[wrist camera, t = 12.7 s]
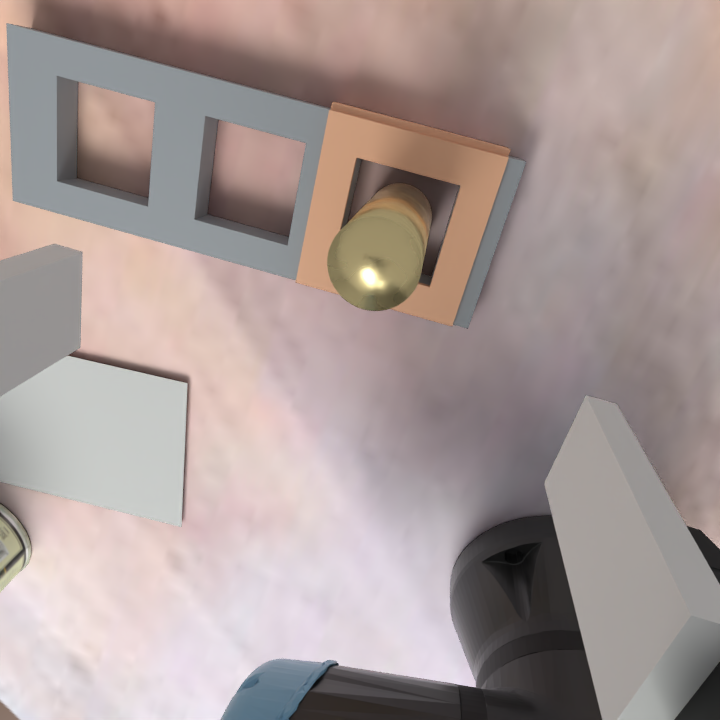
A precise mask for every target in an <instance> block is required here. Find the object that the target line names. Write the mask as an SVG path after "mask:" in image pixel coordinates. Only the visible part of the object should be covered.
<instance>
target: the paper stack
mask: <svg viewBox="0 0 720 720" xmlns="http://www.w3.org/2000/svg"><path fill="white" fill-rule="evenodd" d="M187 385H188V383H185V382H180V381H176V380H172V379H167V378H163V377H158V376H154V375H150V374H145V373H141V372H137V371H132V370H128V369H124V368H119V367H115V366H111V365H106V364H102V363H98V362H93V361H89V360H85V359H80V358H76V357H71V356H66V357H64V358H63V359H61V360H59V361H58V362H56V363H54V364H53V365H51V366H50V367H48V368H46V369H45V370H43V371H41V372H40V373H38V374H36V375H35V376H33V377H32V378H30V379H28V380H27V381H25V382H23V383H22V384H20V385H18V386H17V387H15V388H14V389H12V390H10V391H9V392H7V393H5V394H4V395H2V396H1V397H0V482H3V483H7V484H11V485H15V486H19V487H23V488H27V489H31V490H35V491H39V492H43V493H47V494H51V495H55V496H59V497H63V498H67V499H71V500H75V501H79V502H83V503H87V504H91V505H95V506H99V507H103V508H107V509H111V510H115V511H119V512H123V513H127V514H131V515H135V516H139V517H143V518H147V519H151V520H155V521H159V522H163V523H167V524H171V525H175V526H179V527H182V503H183V480H184V456H185V432H186V409H187Z"/></svg>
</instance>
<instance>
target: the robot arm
mask: <svg viewBox="0 0 720 720" xmlns="http://www.w3.org/2000/svg"><path fill="white" fill-rule="evenodd" d="M81 296H82V252H81V251H78V250H74V249H71V248H67V247H64V246H60V245H57V244H52V245H49V246H46V247H42V248H39V249H36V250H33V251H30V252H27V253H23V254H20V255H17V256H14V257H11V258H7V259H4V260H1V261H0V397H1V396H2V395H4V394H5V393H7V392H9V391H10V390H12V389H14V388H15V387H17V386H18V385H20V384H22V383H23V382H25V381H27V380H28V379H30V378H32V377H33V376H35V375H36V374H38V373H40V372H41V371H43V370H45V369H46V368H48V367H50V366H51V365H53V364H54V363H56V362H58V361H59V360H61V359H63V358H64V357H66V356H67V355H69V354H71V353H72V352H74V351H76V350H77V349H79V348H80V341H81ZM544 485H545V489H546V493H547V497H548V501H549V505H550V509H551V513H552V516H537V517H528V518H522V519H517V520H513V521H510V522H507V523H504V524H501V525H499V526H496V527H494V528H492V529H490V530H488V531H486V532H485V533H483V534H482V535H480V536H479V537H477V538H476V539H475V540H474V541H472V542H471V543H470V544H469V545H468V546H467V547H466V548H465V550H464V551H463V552H462V553H461V555H460V556H459V558H458V560H457V562H456V564H455V566H454V568H453V571H452V575H451V582H450V609H451V616H452V621H453V624H454V627H455V630H456V632H457V634H458V637H459V640H460V643H461V645H462V648H463V651H464V653H465V656H466V658H467V661H468V663H469V666H470V669H471V671H472V674H473V676H474V679H475V681H476V688H475V687H468V686H462V685H457V684H452V683H446V682H440V681H433V680H427V679H421V678H414V677H408V676H402V675H395V674H389V673H382V672H376V671H370V670H363V669H357V668H351V667H344V666H339V664H338V663H337V662H336V661H333V660H327V661H325V662H323V663H321V662H310V661H300V660H290V659H276V660H271V661H268V662H266V663H264V664H262V665H261V666H259V667H258V668H257V669H256V670H254V671H253V672H252V673H251V674H250V675H249V676H248V677H247V678H246V680H245V681H244V682H243V684H242V685H241V686H240V688H239V689H238V691H237V693H236V694H235V695H234V697H233V698H232V700H231V701H230V703H229V705H228V707H227V709H226V710H225V712H224V714H223V716H222V718H221V720H720V549H719V548H718V547H717V546H716V545H715V544H714V543H713V542H712V541H711V540H710V539H709V538H708V537H707V536H706V535H705V534H704V533H703V532H702V531H701V530H699V529H695V528H692V527H688V526H686V524H685V523H684V521H683V519H682V517H681V516H680V514H679V512H678V510H677V509H676V507H675V505H674V503H673V502H672V500H671V498H670V496H669V495H668V493H667V491H666V489H665V488H664V486H663V484H662V482H661V481H660V479H659V477H658V475H657V474H656V472H655V470H654V468H653V467H652V465H651V463H650V461H649V460H648V458H647V456H646V454H645V453H644V451H643V449H642V447H641V445H640V444H639V442H638V440H637V438H636V437H635V435H634V433H633V431H632V430H631V428H630V426H629V424H628V423H627V421H626V419H625V417H624V416H623V414H622V412H621V410H620V409H619V407H618V405H617V404H616V403H612V402H609V401H605V400H602V399H598V398H595V397H591V396H588V395H586V396H585V398H584V400H583V402H582V405H581V407H580V409H579V411H578V413H577V415H576V417H575V419H574V421H573V423H572V426H571V428H570V430H569V432H568V434H567V436H566V438H565V440H564V442H563V444H562V447H561V449H560V451H559V453H558V455H557V457H556V459H555V461H554V463H553V465H552V468H551V470H550V472H549V474H548V476H547V478H546V480H545V482H544Z"/></svg>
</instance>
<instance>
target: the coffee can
mask: <svg viewBox="0 0 720 720" xmlns="http://www.w3.org/2000/svg"><path fill="white" fill-rule="evenodd" d="M30 556H31V544H30V540H29V537H28V535H27V532H26V531H25V529H24V528H23V526H22V525H21V523H20V522H19V521H18V519H17V518H16V517H15V516H14V515H13V514H12V513H11V512H10V511H9V510H8V509H6V508H5V507H4V506H2V505H1V504H0V592H1V591H2V590H3V589H4V588H5V587H6V586H7V585H8V584H9V583H10V581H11V580H12V579H13V578H14V577H15V576H16V575H17V574H18V573H19V572H20V571H22V570H23V569H24V568H25V567H26V566H27V564H28V563H29V560H30Z"/></svg>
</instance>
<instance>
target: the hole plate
mask: <svg viewBox="0 0 720 720" xmlns="http://www.w3.org/2000/svg"><path fill="white" fill-rule="evenodd" d="M7 50H8V78H9V105H10V133H11V161H12V189H13V201H16V202H19V203H23V204H26V205H30V206H34V207H37V208H41V209H44V210H48V211H51V212H55V213H58V214H62V215H66V216H69V217H73V218H76V219H80V220H83V221H87V222H90V223H94V224H98V225H101V226H105V227H108V228H112V229H115V230H119V231H122V232H126V233H130V234H133V235H137V236H140V237H144V238H147V239H151V240H154V241H158V242H162V243H165V244H169V245H172V246H176V247H179V248H183V249H186V250H190V251H194V252H197V253H201V254H204V255H208V256H211V257H215V258H218V259H222V260H226V261H229V262H233V263H236V264H240V265H243V266H247V267H250V268H254V269H257V270H261V271H265V272H268V273H272V274H275V275H279V276H282V277H286V278H289V279H293V280H296V283H299V284H303V285H306V286H310V287H314V288H317V289H321V290H324V291H328V292H331V293H335V294H338V295H340V294H339V293H338V292H337V291H336V289H335V288H334V286H333V284H332V282H331V280H330V277H329V273H328V267H327V257H328V252H329V248H330V245H331V243H332V241H333V239H334V238H335V236H336V235H337V234H338V232H339V231H340V230H341V229H342V228H343V227H344V226H345V225H346V224H347V222H348V217H349V213H350V209H351V204H352V200H353V195H354V191H355V186H356V182H357V178H358V173H359V169H360V164H361V160H362V159H364V160H368V161H371V162H375V163H379V164H382V165H386V166H390V167H393V168H397V169H401V170H405V171H408V172H412V173H416V174H419V175H423V176H427V177H430V178H434V179H438V180H442V181H445V182H449V183H453V184H456V185H459V188H458V191H457V194H456V197H455V201H454V204H453V207H452V211H451V214H450V217H449V220H448V224H447V227H446V230H445V234H444V237H443V240H442V243H441V247H440V250H439V253H438V256H437V260H436V263H435V266H434V270H433V273H432V276H428V275H424V274H421V276H420V280H419V282H418V285H417V287H416V288H415V290H414V291H413V293H412V294H411V295H410V296H409V297H408V298H407V299H406V300H405V301H404V302H402V303H401V304H399V305H398V306H395V307H393V308H390V309H392V310H395V311H399V312H402V313H406V314H409V315H413V316H417V317H420V318H424V319H427V320H431V321H434V322H438V323H441V324H445V325H449V326H452V325H457V326H460V327H464V328H467V329H468V327H469V324H470V321H471V318H472V315H473V313H474V310H475V307H476V304H477V301H478V298H479V295H480V293H481V290H482V287H483V284H484V281H485V278H486V275H487V273H488V270H489V267H490V264H491V261H492V258H493V256H494V253H495V250H496V247H497V244H498V241H499V238H500V236H501V233H502V230H503V227H504V224H505V221H506V218H507V216H508V213H509V210H510V207H511V204H512V201H513V198H514V196H515V193H516V190H517V187H518V184H519V181H520V178H521V176H522V173H523V170H524V167H525V164H526V162H525V161H524V160H522V159H519V158H515V157H512V156H509V153H510V150H511V149H509V148H508V147H504V146H500V145H496V144H492V143H489V142H485V141H481V140H477V139H474V138H470V137H466V136H462V135H459V134H455V133H451V132H447V131H444V130H440V129H436V128H432V127H429V126H425V125H421V124H417V123H414V122H410V121H406V120H402V119H399V118H395V117H391V116H387V115H384V114H380V113H376V112H372V111H369V110H365V109H361V108H357V107H354V106H350V105H346V104H342V103H338V102H332V105H331V108H328V107H324V106H321V105H317V104H313V103H309V102H306V101H302V100H298V99H294V98H291V97H287V96H283V95H279V94H276V93H272V92H268V91H264V90H261V89H257V88H253V87H249V86H246V85H242V84H238V83H234V82H231V81H227V80H223V79H219V78H216V77H212V76H208V75H204V74H201V73H197V72H193V71H189V70H186V69H182V68H178V67H174V66H171V65H167V64H163V63H159V62H156V61H152V60H148V59H145V58H141V57H137V56H133V55H130V54H126V53H122V52H118V51H115V50H111V49H107V48H103V47H100V46H96V45H92V44H88V43H85V42H81V41H77V40H73V39H70V38H66V37H62V36H58V35H55V34H51V33H47V32H43V31H40V30H36V29H32V28H28V27H23V26H18V25H13V24H8V23H7ZM78 82H82V83H86V84H89V85H93V86H97V87H100V88H104V89H108V90H112V91H115V92H119V93H123V94H126V95H130V96H134V97H137V98H141V99H145V100H149V101H152V102H155V114H154V129H153V143H152V158H151V172H150V187H149V198H147V197H143V196H140V195H136V194H133V193H129V192H125V191H122V190H118V189H115V188H111V187H107V186H104V185H100V184H97V183H93V182H89V181H86V180H82V179H79V178H77V119H78ZM218 119H219V120H223V121H226V122H230V123H234V124H237V125H241V126H245V127H248V128H252V129H256V130H260V131H263V132H267V133H271V134H274V135H278V136H282V137H285V138H289V139H293V140H297V141H300V142H304V143H306V147H305V153H304V158H303V164H302V169H301V175H300V180H299V185H298V191H297V196H296V202H295V207H294V213H293V218H292V224H291V229H290V235H289V237H287V236H284V235H280V234H276V233H273V232H269V231H266V230H262V229H259V228H255V227H251V226H248V225H244V224H241V223H237V222H233V221H230V220H226V219H223V218H219V217H215V216H212V215H208V214H207V213H208V205H209V196H210V187H211V179H212V170H213V161H214V153H215V144H216V135H217V127H218Z"/></svg>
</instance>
